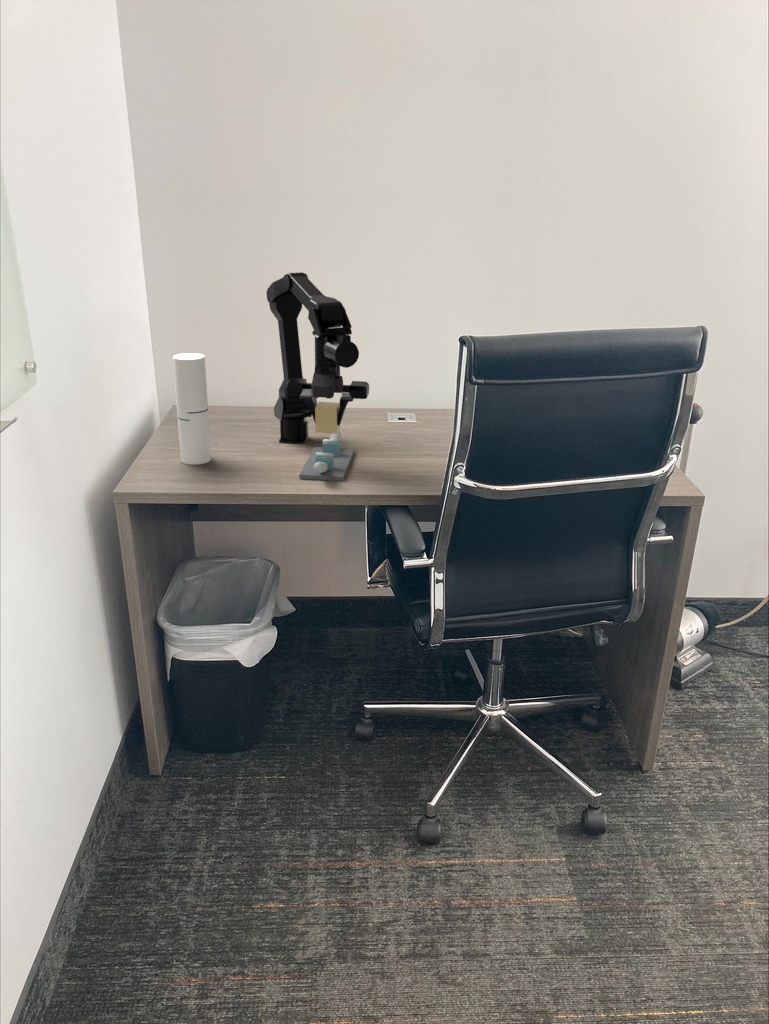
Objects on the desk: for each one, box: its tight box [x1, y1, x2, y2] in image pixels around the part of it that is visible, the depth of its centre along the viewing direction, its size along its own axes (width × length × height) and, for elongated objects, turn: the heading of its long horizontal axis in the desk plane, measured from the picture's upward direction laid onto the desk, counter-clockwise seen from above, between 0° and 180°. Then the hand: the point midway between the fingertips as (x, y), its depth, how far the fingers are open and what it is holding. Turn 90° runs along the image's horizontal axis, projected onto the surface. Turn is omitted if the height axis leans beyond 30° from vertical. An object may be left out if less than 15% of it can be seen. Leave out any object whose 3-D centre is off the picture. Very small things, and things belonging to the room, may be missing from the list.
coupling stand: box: [298, 429, 355, 482], centre depth 192 cm, size 10×26×5 cm, turn 175°
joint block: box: [314, 401, 341, 434], centre depth 188 cm, size 5×5×6 cm
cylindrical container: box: [172, 352, 212, 466], centre depth 190 cm, size 7×7×25 cm
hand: (327, 424), depth 189 cm, fingers closed on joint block, 5 cm apart
